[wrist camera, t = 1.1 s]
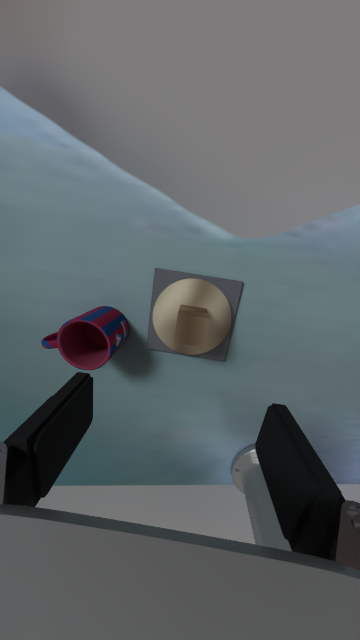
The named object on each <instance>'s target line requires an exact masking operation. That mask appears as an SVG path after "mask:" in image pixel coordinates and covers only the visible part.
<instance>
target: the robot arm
mask: <svg viewBox="0 0 360 640" xmlns="http://www.w3.org/2000/svg"><path fill="white" fill-rule="evenodd" d="M92 419H93V377H90V374H88V373H82V372H78V373H76V374H75V375H74V376H73V377H72V378H71V379H70V380H69V381H68V382H67V383H66V384H65V385H64V386H63V387H62V388H61V389H60V390H59V391H58V392H57V393H56V394H55V395H54V396H51V397H50V398H49V399H48V400H47V401H46V402H45V403H44V404H43V405H42V406H41V407H39V408H38V409H37V410H36V411H35V412H34V413H33V414H32V415H31V416H30V417H29V418H28V419H27V420H26V421H25V422H24V423H23V424H22V425H21V426H20V427H19V428H18V429H17V430H16V431H14V432H13V433H12V434H11V435H10V436H9V437H8V438H7V439H6V440H5V441H4V442H0V640H360V503H357V502H355V501H346V500H345V499H344V497H343V496H342V494H341V491H340V490H339V488H338V487H337V485H336V483H335V482H334V480H333V479H332V477H331V475H330V474H329V472H328V471H327V469H326V468H325V466H324V464H323V463H322V461H321V460H320V458H319V457H318V455H317V454H316V452H315V450H314V449H313V447H312V446H311V444H310V443H309V441H308V439H307V438H306V436H305V435H304V433H303V432H302V430H301V428H300V427H299V425H298V424H297V422H296V421H295V419H294V418H293V416H292V414H291V413H290V411H289V410H288V408H287V407H286V406H285V405H281V404H272V405H271V406H269V407H268V409H267V412H266V415H265V418H264V421H263V424H262V427H261V429H260V432H259V435H258V438H257V441H256V445H252V446H250V447H248V448H246V449H244V450H243V451H241V452H240V453H239V454H238V455H237V456H236V457H235V459H234V460H233V463H232V466H231V473H232V478H233V482H234V484H235V485H236V487H237V488H238V489H239V490H240V491H241V492H242V493H244V494H245V497H246V502H247V507H248V511H249V515H250V521H251V525H252V529H253V534H254V539H255V543H256V545H255V544H250V543H244V542H238V541H233V540H227V539H221V538H216V537H211V536H205V535H199V534H194V533H188V532H182V531H176V530H171V529H165V528H160V527H153V526H148V525H142V524H136V523H130V522H125V521H119V520H113V519H107V518H101V517H95V516H89V515H83V514H77V513H71V512H65V511H58V510H51V509H44V508H37V507H35V506H36V505H37V503H38V501H39V500H40V498H41V497H42V498H44V497H45V496H46V495H47V494H48V492H49V490H50V489H51V487H52V486H53V484H54V482H55V481H56V479H57V478H58V476H59V474H60V473H61V471H62V470H63V468H64V466H65V465H66V463H67V462H68V460H69V458H70V457H71V455H72V454H73V452H74V450H75V449H76V447H77V445H78V444H79V442H80V441H81V439H82V437H83V436H84V434H85V433H86V431H87V429H88V428H89V426H90V424H91V422H92Z"/></svg>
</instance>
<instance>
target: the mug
mask: <svg viewBox="0 0 360 640" xmlns="http://www.w3.org/2000/svg"><path fill="white" fill-rule="evenodd" d="M128 334H129V326H128V322H127V320H126V318H125V317H124V315H123V314H122V313H121V312H119V311H118V310H116V309H115V308H112V307H108V306H102V307H98V308H95V309H93V310H91V311H89V312H87V313H84V314H82V315H80V316H78V317H76V318H74V319H72V320H69V321H68V322H66V323H65V324H63V325H62V326H61V328H60V329H59V332H56V333H53V334H51V335H48V336H46V337H45V338H43V339H42V341H41V343H42V346H43V348H47V349H52V348H58V349H59V351H60V353H61V355H62V356H63V358H64V359H65V360H66V361H67V362H68V363H70V364H71V365H73V366H74V367H76V368H79V369H83V370H94V369H98V368H100V367H102V366H103V365H104V364H105V363H106V362H107V361H108V360H109V359H110V358H111V357H112V355H113V354H114V353H115V352H116V351H117V350H118V349H119V347H120V346H121V345H122V344H123V343H124V342H125V341H126V339H127V337H128Z"/></svg>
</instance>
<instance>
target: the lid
mask: <svg viewBox="0 0 360 640" xmlns="http://www.w3.org/2000/svg"><path fill="white" fill-rule="evenodd" d="M153 324H154V328H155V331H156V333H157V335H158V337H159V338H160V339H161V341H162V342H163V343H164V344H165V345H166V346H168V347H169V348H171V349H172V350H174V351H176V352H179V353H183V354H189V355H196V354H202V353H205V352H208V351H210V350H212V349H214V348H215V347H217V346H218V345H219V344H220V343H221V342H222V341H223V340H224V338H225V337H226V335H227V333H228V331H229V329H230V325H231V309H230V305H229V303H228V300H227V298H226V297H225V295H224V294H223V293H222V292H221V291H220V290H219V289H218V288H217V287H216V286H215V285H213V284H211V283H210V282H207V281H205V280H201V279H194V278H190V279H183V280H179V281H177V282H175V283H173V284H171V285H169V286H168V287H167V288H166V289H165V290H164V291H163V292H162V293H161V294H160V295H159V297H158V298H157V300H156V302H155V305H154V309H153Z"/></svg>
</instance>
